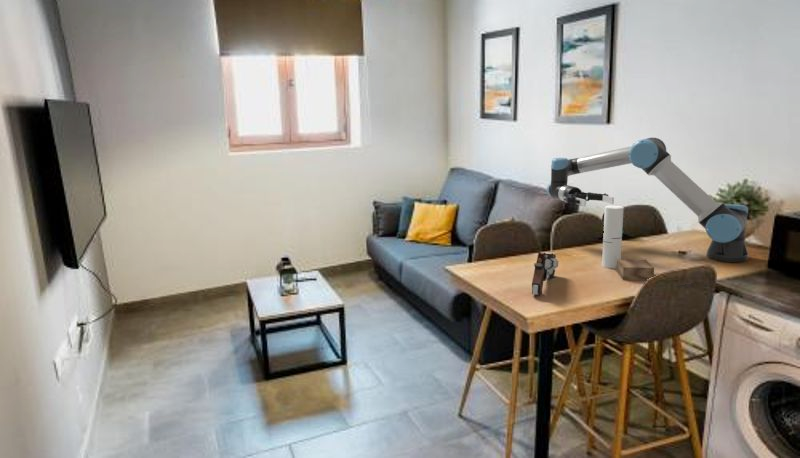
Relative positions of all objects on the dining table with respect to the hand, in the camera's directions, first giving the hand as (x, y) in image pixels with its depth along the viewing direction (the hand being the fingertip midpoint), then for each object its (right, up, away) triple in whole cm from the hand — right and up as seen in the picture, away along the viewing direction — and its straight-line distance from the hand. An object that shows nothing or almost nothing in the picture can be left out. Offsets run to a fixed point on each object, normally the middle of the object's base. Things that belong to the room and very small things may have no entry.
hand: (599, 202), depth 232 cm
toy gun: (-30, -33, -24) cm, 51 cm away
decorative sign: (+21, -15, +45) cm, 52 cm away
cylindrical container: (+4, -27, -3) cm, 27 cm away
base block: (+8, -30, -17) cm, 35 cm away
